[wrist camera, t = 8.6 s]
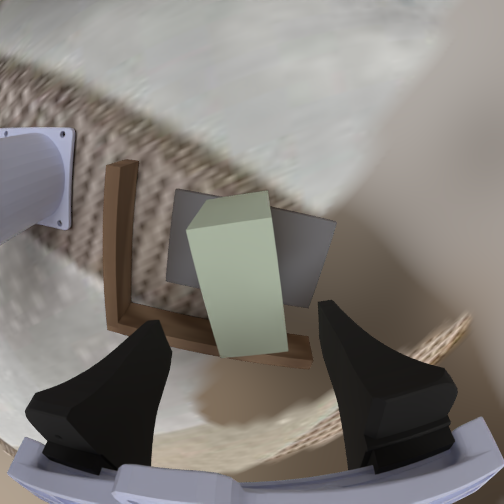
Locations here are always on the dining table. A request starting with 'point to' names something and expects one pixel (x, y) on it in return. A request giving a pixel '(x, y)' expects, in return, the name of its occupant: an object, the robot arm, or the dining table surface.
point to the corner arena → (184, 273)
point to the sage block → (239, 274)
